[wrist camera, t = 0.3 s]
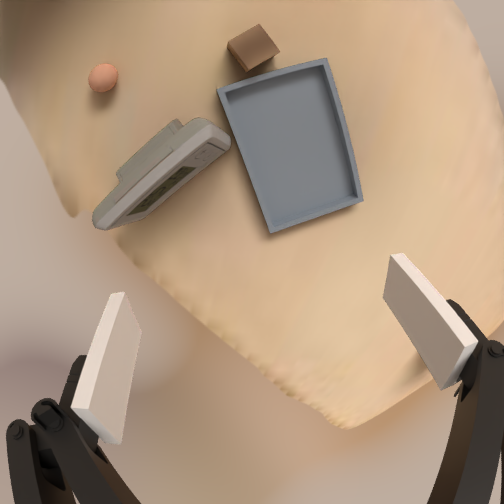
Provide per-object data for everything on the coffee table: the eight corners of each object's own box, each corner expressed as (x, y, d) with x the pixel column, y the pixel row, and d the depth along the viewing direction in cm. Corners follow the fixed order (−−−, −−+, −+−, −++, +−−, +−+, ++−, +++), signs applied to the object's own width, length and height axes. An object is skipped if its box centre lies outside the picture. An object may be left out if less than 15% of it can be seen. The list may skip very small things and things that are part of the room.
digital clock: (136, 219, 39) (113, 260, 30) (101, 164, 35) (66, 190, 26) (243, 163, 37) (253, 189, 28) (211, 100, 33) (208, 102, 24)
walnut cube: (226, 47, 30) (227, 41, 26) (255, 30, 29) (259, 23, 25) (246, 72, 32) (249, 69, 28) (273, 55, 31) (280, 51, 27)
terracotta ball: (91, 73, 29) (79, 72, 26) (116, 59, 28) (106, 56, 25) (100, 96, 30) (89, 97, 27) (125, 83, 30) (116, 82, 27)
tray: (267, 226, 42) (270, 233, 40) (216, 89, 32) (216, 89, 30) (357, 195, 41) (363, 200, 39) (321, 59, 31) (326, 57, 29)
